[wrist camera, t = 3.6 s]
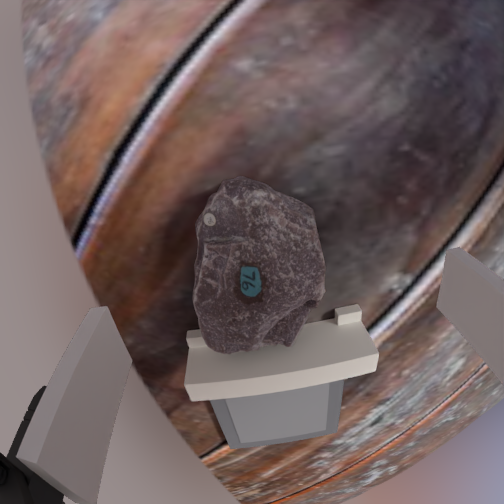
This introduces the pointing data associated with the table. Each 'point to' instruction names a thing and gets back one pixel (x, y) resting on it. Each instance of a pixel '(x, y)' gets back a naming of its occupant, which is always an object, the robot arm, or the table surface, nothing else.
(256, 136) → the table surface
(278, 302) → the rock
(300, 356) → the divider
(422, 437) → the table surface
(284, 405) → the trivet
